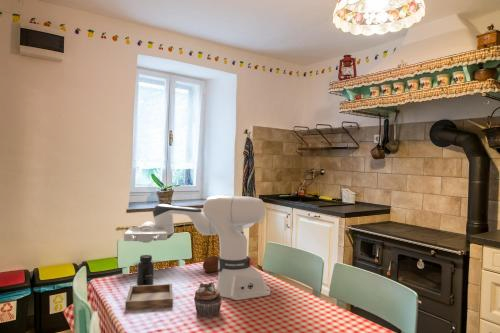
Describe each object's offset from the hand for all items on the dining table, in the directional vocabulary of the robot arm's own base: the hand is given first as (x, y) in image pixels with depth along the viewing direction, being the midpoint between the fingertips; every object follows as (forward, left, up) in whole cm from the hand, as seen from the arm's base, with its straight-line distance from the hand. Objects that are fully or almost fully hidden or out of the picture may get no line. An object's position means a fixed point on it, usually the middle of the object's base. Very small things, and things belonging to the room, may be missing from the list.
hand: (144, 239), depth 160 cm
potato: (-31, +2, -16) cm, 35 cm away
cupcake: (-24, +48, -16) cm, 56 cm away
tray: (-4, +33, -16) cm, 37 cm away
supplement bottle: (-1, +15, -16) cm, 22 cm away
